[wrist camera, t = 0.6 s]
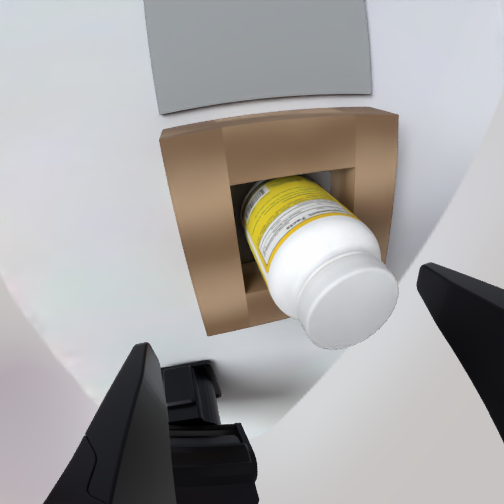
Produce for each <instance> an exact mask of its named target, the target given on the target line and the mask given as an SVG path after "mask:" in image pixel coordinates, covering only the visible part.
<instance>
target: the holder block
mask: <svg viewBox="0 0 504 504" xmlns="http://www.w3.org/2000/svg"><path fill="white" fill-rule="evenodd" d="M398 117H399V115H397V114H394V113H390V112H387V111H383V110H379V109H375V108H371V107H337V108H317V109H302V110H289V111H278V112H269V113H260V114H251V115H244V116H236V117H229V118H223V119H217V120H210V121H205V122H199V123H193V124H188V125H183V126H178V127H173V128H168V129H164V130H162V133H161V136H160V139H159V142H160V147H161V152H162V157H163V162H164V167H165V172H166V176H167V181H168V186H169V190H170V195H171V199H172V204H173V208H174V212H175V217H176V221H177V225H178V229H179V233H180V237H181V241H182V245H183V249H184V253H185V257H186V261H187V265H188V269H189V273H190V276H191V280H192V284H193V287H194V291H195V295H196V298H197V302H198V305H199V309H200V312H201V316H202V319H203V323H204V326H205V330H206V333H207V336H212V335H217V334H222V333H226V332H231V331H235V330H240V329H244V328H249V327H253V326H257V325H262V324H266V323H270V322H274V321H278V320H282V319H286V318H290V316H288V315H286V314H285V313H284V312H283V311H281V310H280V309H279V307H278V306H277V305H276V304H275V302H274V300H273V299H272V297H271V295H270V292H269V290H268V288H267V285H266V283H265V281H264V278H263V276H262V274H261V271H260V269H259V267H258V265H257V262H256V261H254V262H249V263H244V264H241V261H240V254H239V247H238V240H237V233H236V226H235V219H234V212H233V205H232V198H231V191H230V186H231V185H237V184H242V183H248V182H254V181H260V180H266V179H272V178H278V177H285V176H291V175H298V174H305V173H312V172H319V171H327V170H331V195H332V196H333V197H334V198H335V199H336V200H337V201H339V202H340V203H341V204H342V205H343V206H345V207H346V208H347V209H348V210H349V211H350V212H352V213H353V214H354V215H355V216H356V217H357V218H358V219H360V220H361V221H362V222H363V223H364V224H365V225H366V226H367V227H368V228H369V229H370V230H371V231H372V233H373V234H374V236H375V238H376V239H377V242H378V244H379V248H380V252H381V261H382V262H383V263H384V265H385V261H386V254H387V248H388V241H389V234H390V227H391V219H392V210H393V201H394V191H395V179H396V165H397V148H398Z"/></svg>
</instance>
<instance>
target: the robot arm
mask: <svg viewBox="0 0 504 504" xmlns="http://www.w3.org/2000/svg"><path fill="white" fill-rule="evenodd" d="M417 290H418V292H419V294H420V296H421V297H422V299H423V301H424V303H425V305H426V306H427V308H428V310H429V312H430V314H431V316H432V317H433V319H434V321H435V323H436V324H437V326H438V328H439V329H440V331H441V332H442V334H443V335H444V337H445V339H446V340H447V342H448V343H449V345H450V346H451V348H452V349H453V351H454V353H455V354H456V356H457V357H458V359H459V361H460V362H461V364H462V366H463V367H464V369H465V371H466V372H467V374H468V376H469V378H470V379H471V381H472V383H473V385H474V386H475V388H476V390H477V392H478V393H479V395H480V397H481V399H482V401H483V402H484V404H485V406H486V408H487V410H488V412H489V414H490V416H491V418H492V420H493V422H494V424H495V426H496V428H497V430H498V432H499V434H500V436H501V438H502V440H503V442H504V289H501V288H499V287H496V286H493V285H491V284H488V283H486V282H483V281H481V280H478V279H475V278H472V277H470V276H467V275H465V274H462V273H459V272H457V271H454V270H451V269H448V268H445V267H443V266H440V265H437V264H434V263H427V264H424V265H422V266H421V267H420V270H419V275H418V280H417ZM219 397H221V391H220V388H219V385H218V382H217V379H216V376H215V373H214V370H213V367H212V365H211V362H210V361H201V362H195V363H190V364H185V365H179V366H173V367H168V368H160V363H159V360H158V358H157V356H156V355H155V353H154V351H153V349H152V347H151V345H150V344H149V343H148V342H144V343H140V344H136V345H135V346H134V347H133V349H132V350H131V352H130V354H129V356H128V357H127V359H126V361H125V362H124V364H123V366H122V368H121V369H120V371H119V373H118V375H117V376H116V378H115V380H114V382H113V384H112V385H111V387H110V389H109V391H108V392H107V394H106V396H105V398H104V400H103V401H102V403H101V405H100V407H99V409H98V411H97V413H96V414H95V416H94V418H93V420H92V422H91V424H90V426H89V427H88V429H87V431H86V433H85V434H86V436H84V437H83V439H82V441H81V443H80V445H79V447H78V448H77V450H76V452H75V454H74V456H73V457H72V459H71V461H70V462H69V464H68V466H67V467H66V469H65V470H64V472H63V474H62V475H61V477H60V478H59V480H58V481H57V483H56V484H55V486H54V488H53V489H52V491H51V493H50V494H49V496H48V497H47V499H46V500H45V501H44V503H43V504H258V502H259V497H258V494H257V490H256V486H255V481H256V479H257V462H256V457H255V454H254V451H253V449H252V447H251V445H250V443H249V440H248V438H247V436H246V434H245V432H244V429H243V427H242V425H241V423H235V424H224V425H221V422H220V417H219V412H218V406H217V401H216V398H219Z"/></svg>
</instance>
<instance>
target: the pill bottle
mask: <svg viewBox="0 0 504 504" xmlns="http://www.w3.org/2000/svg"><path fill="white" fill-rule="evenodd" d="M240 218H241V226H242V229H243V232H244V235H245V237H246V239H247V242H248V244H249V246H250V249H251V251H252V253H253V255H254V258H255V260H256V262H257V265H258V267H259V269H260V271H261V274H262V276H263V278H264V281H265V283H266V285H267V288H268V290H269V292H270V295H271V297H272V299H273V300H274V302H275V304H276V305H277V306H278V307H279V309H280V310H281V311H283V312H284V313H285V314H286V315H288V316H290V317H292V318H293V319H296V320H299V321H300V322H301V324H302V326H303V328H304V330H305V332H306V334H307V336H308V338H309V339H310V340H311V341H312V342H313V343H314V344H315V345H317V346H319V347H321V348H324V349H343V348H347V347H350V346H353V345H355V344H357V343H360V342H362V341H363V340H365V339H367V338H368V337H370V336H371V335H372V334H374V333H375V332H376V331H377V330H378V329H380V328H381V326H382V325H383V324H384V323H385V322H386V321H387V319H388V318H389V317H390V315H391V313H392V311H393V310H394V308H395V305H396V303H397V299H398V294H399V288H398V283H397V280H396V278H395V276H394V275H393V274H392V273H391V272H390V270H389V269H388V268H387V267H386V266H385V265H384V263H383V262H382V261H381V252H380V248H379V244H378V242H377V239H376V238H375V236H374V234H373V233H372V231H371V230H370V229H369V228H368V227H367V226H366V225H365V224H364V223H363V222H362V221H361V220H360V219H358V218H357V217H356V216H355V215H354V214H353V213H352V212H350V211H349V210H348V209H347V208H346V207H345V206H343V205H342V204H341V203H340V202H339V201H337V200H336V199H335V198H334V197H333V196H332V195H330V194H329V193H328V192H327V191H326V190H324V189H323V188H322V187H321V186H319V185H318V184H317V183H316V182H314V181H313V180H311V179H310V178H309V177H307V176H305V175H303V174H298V175H291V176H285V177H278V178H272V179H266V180H260V181H258V182H257V183H256V184H255V185H254V186H253V187H252V188H251V189H250V190H249V192H248V193H247V195H246V197H245V199H244V201H243V204H242V207H241V214H240Z"/></svg>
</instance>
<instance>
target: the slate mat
mask: <svg viewBox="0 0 504 504" xmlns="http://www.w3.org/2000/svg"><path fill="white" fill-rule="evenodd" d="M143 1H144V10H145V19H146V28H147V36H148V44H149V51H150V58H151V65H152V72H153V79H154V85H155V91H156V97H157V103H158V109H159V115H161V114H166V113H171V112H176V111H181V110H186V109H191V108H197V107H203V106H209V105H215V104H222V103H229V102H236V101H244V100H252V99H262V98H272V97H284V96H298V95H318V94H372V91H371V67H370V51H369V38H368V27H367V18H366V9H365V1H364V0H143Z"/></svg>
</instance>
